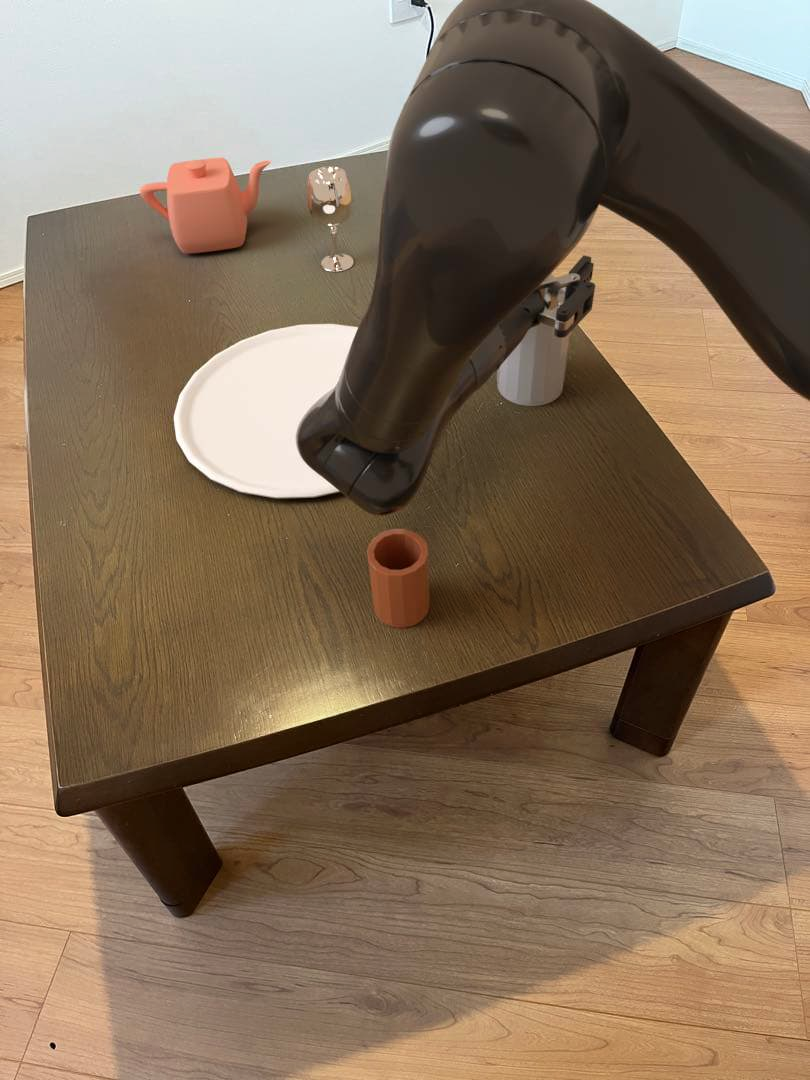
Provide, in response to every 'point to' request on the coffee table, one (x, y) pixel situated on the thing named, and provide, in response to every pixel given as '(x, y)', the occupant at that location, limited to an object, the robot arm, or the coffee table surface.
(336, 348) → the plate
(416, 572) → the holder
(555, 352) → the grey faceted cup
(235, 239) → the teapot
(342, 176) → the wineglass
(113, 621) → the coffee table surface
